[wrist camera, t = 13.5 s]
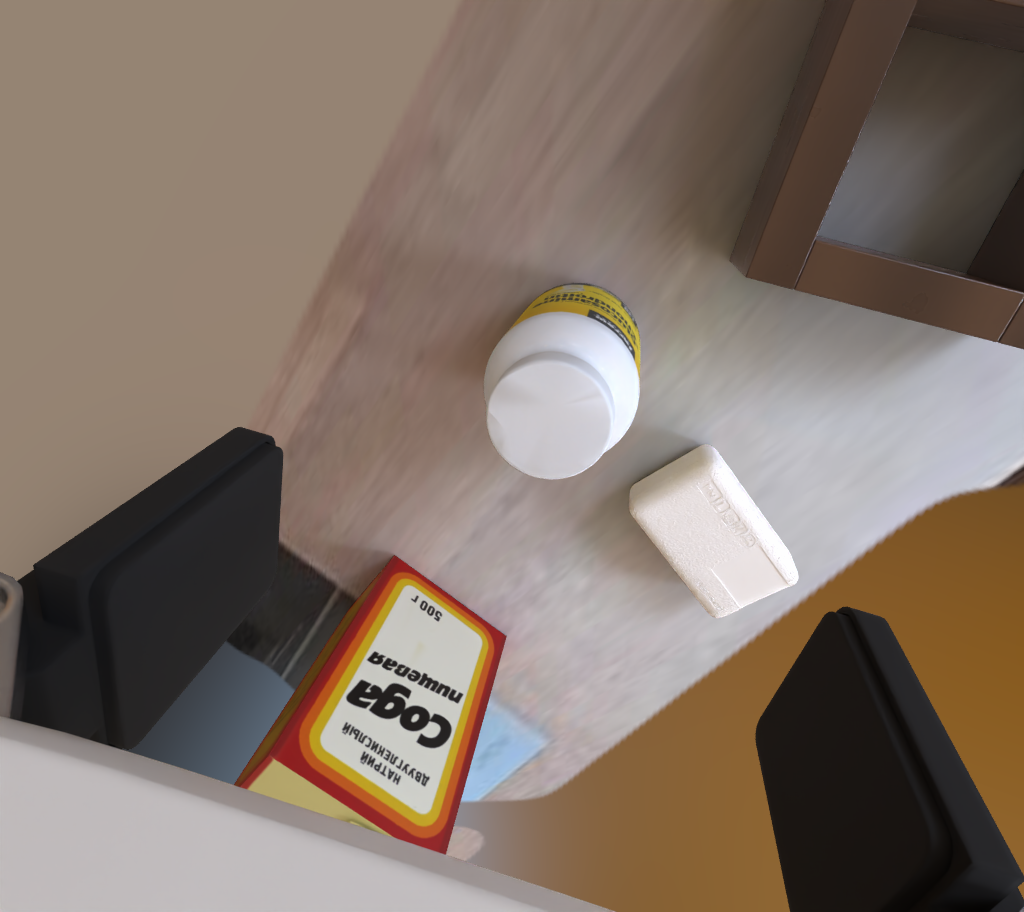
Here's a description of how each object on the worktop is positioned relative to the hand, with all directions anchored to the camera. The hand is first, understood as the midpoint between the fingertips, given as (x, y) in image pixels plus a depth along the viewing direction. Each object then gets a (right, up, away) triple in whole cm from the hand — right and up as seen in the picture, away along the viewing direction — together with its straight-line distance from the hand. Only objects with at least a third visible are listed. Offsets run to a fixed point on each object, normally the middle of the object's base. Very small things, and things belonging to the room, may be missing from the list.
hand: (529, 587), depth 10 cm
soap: (+11, -1, +25) cm, 28 cm away
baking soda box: (-6, -9, +33) cm, 34 cm away
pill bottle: (+3, +8, +22) cm, 24 cm away
